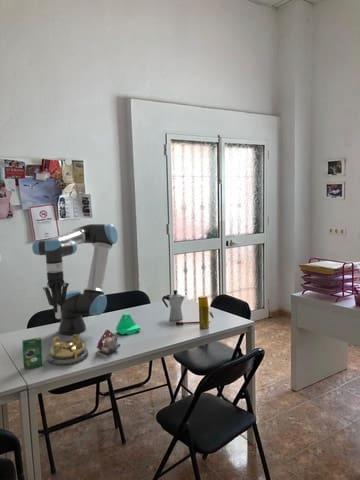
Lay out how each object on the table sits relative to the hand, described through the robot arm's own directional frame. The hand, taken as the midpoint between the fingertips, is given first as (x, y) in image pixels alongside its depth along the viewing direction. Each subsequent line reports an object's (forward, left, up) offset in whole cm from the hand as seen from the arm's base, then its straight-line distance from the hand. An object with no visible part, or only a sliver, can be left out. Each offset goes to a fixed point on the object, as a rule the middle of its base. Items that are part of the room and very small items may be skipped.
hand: (58, 318), depth 191 cm
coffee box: (+1, -17, -18) cm, 25 cm away
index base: (+7, -1, -18) cm, 19 cm away
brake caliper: (+20, +13, -18) cm, 30 cm away
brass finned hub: (+7, -1, -16) cm, 17 cm away
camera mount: (+11, +40, -18) cm, 45 cm away
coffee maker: (+21, +73, -18) cm, 78 cm away
